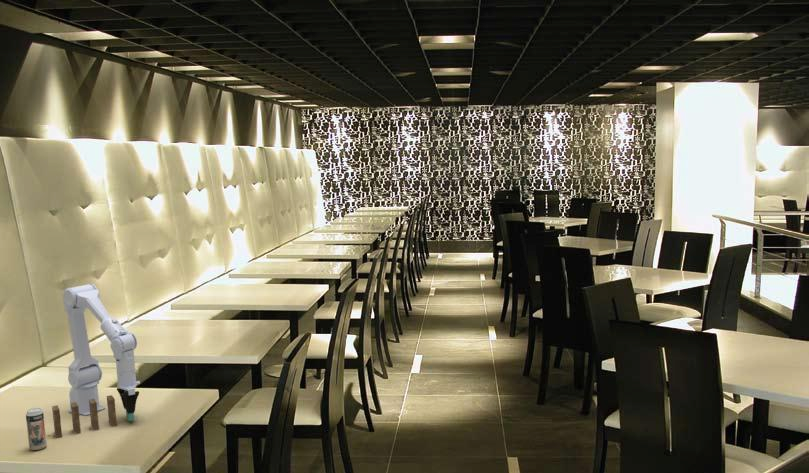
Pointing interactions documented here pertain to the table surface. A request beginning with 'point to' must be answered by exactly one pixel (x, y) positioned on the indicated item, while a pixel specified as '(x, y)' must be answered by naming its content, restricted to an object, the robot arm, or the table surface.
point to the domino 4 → (111, 411)
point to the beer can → (36, 429)
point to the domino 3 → (94, 414)
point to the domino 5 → (129, 416)
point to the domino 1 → (57, 421)
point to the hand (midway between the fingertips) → (129, 410)
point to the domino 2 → (75, 418)
